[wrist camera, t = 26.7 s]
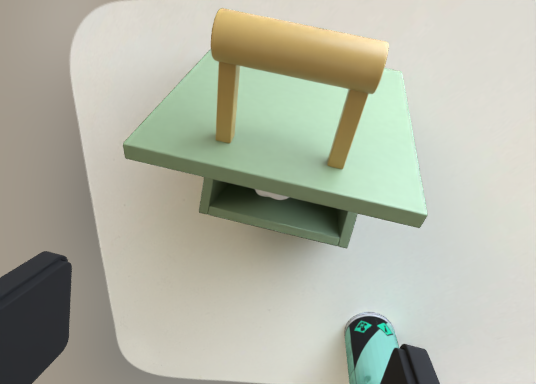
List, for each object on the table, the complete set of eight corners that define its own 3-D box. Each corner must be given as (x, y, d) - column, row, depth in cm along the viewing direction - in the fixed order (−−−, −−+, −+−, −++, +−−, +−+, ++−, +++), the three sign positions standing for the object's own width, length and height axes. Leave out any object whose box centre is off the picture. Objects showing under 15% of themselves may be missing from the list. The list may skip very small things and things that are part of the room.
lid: (420, 229, 15) (503, 88, 11) (124, 159, 16) (99, 4, 12) (397, 82, 26) (435, -16, 22) (223, 45, 26) (228, -56, 22)
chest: (341, 212, 38) (347, 249, 30) (224, 185, 39) (198, 212, 31) (379, 78, 34) (398, 76, 26) (247, 50, 35) (225, 40, 27)
